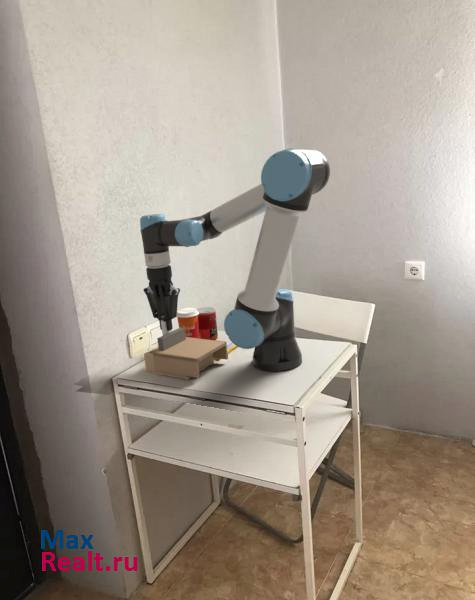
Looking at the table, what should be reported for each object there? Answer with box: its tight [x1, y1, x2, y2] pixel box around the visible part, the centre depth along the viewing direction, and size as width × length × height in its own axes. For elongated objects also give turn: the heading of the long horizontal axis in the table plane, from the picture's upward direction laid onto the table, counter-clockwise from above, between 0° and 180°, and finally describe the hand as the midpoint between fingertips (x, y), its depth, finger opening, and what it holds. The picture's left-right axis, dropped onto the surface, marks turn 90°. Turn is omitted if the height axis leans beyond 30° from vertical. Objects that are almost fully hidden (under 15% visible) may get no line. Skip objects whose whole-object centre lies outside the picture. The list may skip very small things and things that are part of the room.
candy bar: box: [214, 342, 239, 361], centre depth 171 cm, size 17×4×2 cm, turn 152°
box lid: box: [153, 327, 229, 379], centre depth 157 cm, size 16×16×10 cm
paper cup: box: [176, 307, 199, 338], centre depth 174 cm, size 8×8×14 cm
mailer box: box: [143, 346, 215, 380], centre depth 160 cm, size 16×14×6 cm
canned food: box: [196, 306, 219, 341], centre depth 185 cm, size 8×8×11 cm
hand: (167, 339), depth 161 cm, fingers closed
